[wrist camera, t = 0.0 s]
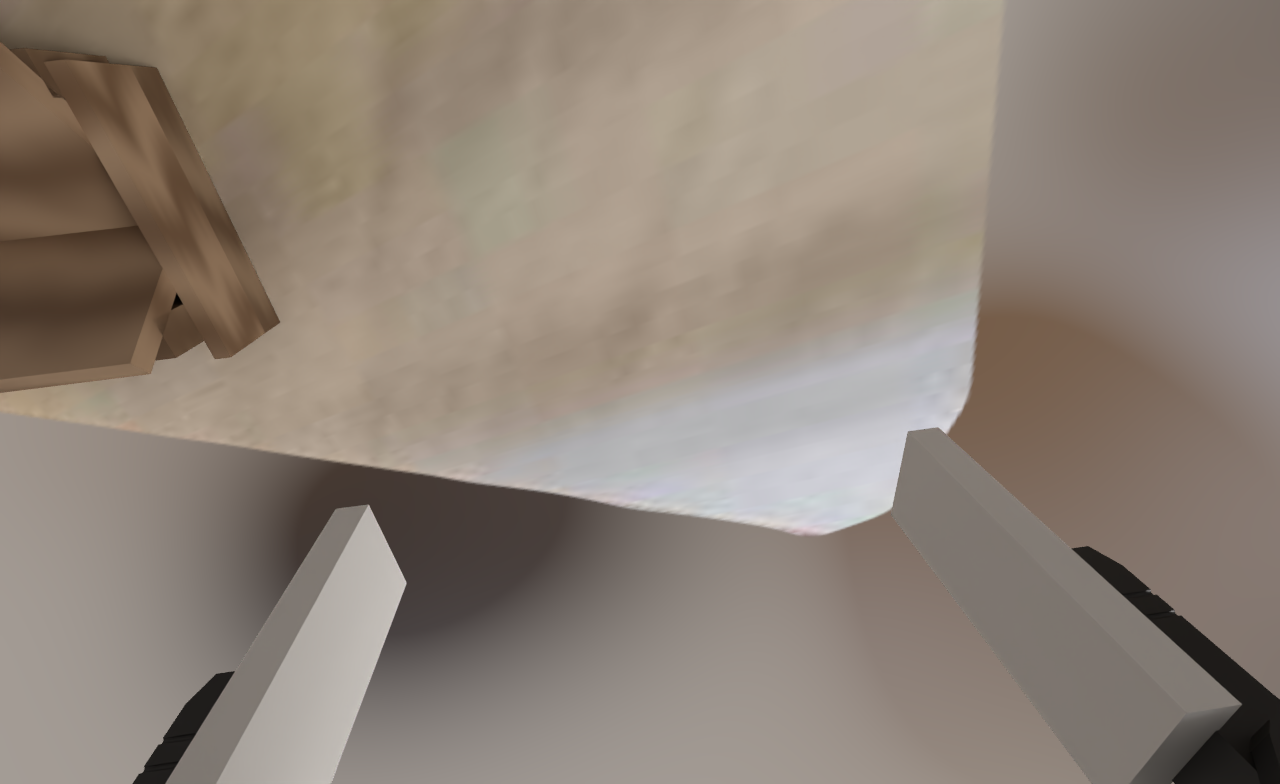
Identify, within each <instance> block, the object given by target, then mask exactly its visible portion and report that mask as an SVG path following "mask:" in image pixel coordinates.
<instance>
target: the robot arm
mask: <svg viewBox="0 0 1280 784" xmlns="http://www.w3.org/2000/svg"><path fill="white" fill-rule="evenodd" d="M891 515H892V517H893V518H894V520H895V521H896V522H897V523H898V525H899V526H900V527H901V529H902V530H903V531H904V533H905V534H906V535H907V537H908V538H909V540H910V541H911V542H912V544H913V545H914V546H915V548H916V549H917V550H918V552H919V553H920V554H921V556H922V557H923V558H924V560H925V561H926V562H927V564H928V565H929V566H930V568H931V569H932V570H933V572H934V573H935V574H936V576H937V577H938V578H939V580H940V581H941V582H942V584H943V585H944V587H945V588H946V589H947V591H948V592H949V593H950V594H951V596H952V597H953V599H954V600H955V601H956V602H957V604H958V605H959V607H960V608H961V609H962V610H963V612H964V613H965V615H966V616H967V617H968V619H969V620H970V621H971V623H972V624H973V625H974V627H975V628H976V629H977V631H978V632H979V633H980V635H981V636H982V637H983V639H984V640H985V641H986V643H987V644H988V645H989V647H990V648H991V649H992V651H993V652H994V653H995V655H996V656H997V658H998V659H999V660H1000V662H1001V663H1002V664H1003V665H1004V667H1005V668H1006V670H1007V671H1008V672H1009V674H1010V675H1011V676H1012V677H1013V679H1014V680H1015V682H1016V683H1017V684H1018V685H1019V687H1020V688H1021V690H1022V691H1023V692H1024V694H1026V696H1027V698H1028V699H1029V700H1030V702H1031V703H1032V704H1033V706H1034V707H1035V708H1036V710H1037V711H1038V712H1039V714H1040V715H1041V716H1042V718H1043V719H1044V720H1045V722H1046V723H1047V724H1048V726H1049V727H1050V728H1051V730H1052V731H1053V733H1054V734H1055V735H1056V737H1057V738H1058V739H1059V741H1060V742H1061V743H1062V745H1063V746H1064V747H1065V748H1066V750H1067V751H1068V753H1069V754H1070V755H1071V756H1072V758H1073V759H1074V761H1075V762H1076V763H1077V765H1078V766H1079V767H1080V769H1081V770H1082V771H1083V772H1084V774H1085V775H1086V777H1087V778H1088V779H1089V781H1090V782H1091V783H1092V784H1171V783H1172V782H1174V783H1175V784H1280V699H1278V698H1277V697H1276V696H1275V695H1273V694H1272V693H1271V692H1270V691H1269V690H1267V689H1266V688H1265V687H1264V686H1263V685H1262V684H1260V683H1259V682H1258V681H1257V680H1256V679H1255V678H1253V677H1252V676H1251V675H1250V674H1249V673H1248V672H1246V671H1245V670H1244V669H1243V668H1242V667H1240V666H1239V665H1238V664H1237V663H1236V662H1235V661H1233V660H1232V659H1231V658H1230V657H1229V656H1228V655H1227V654H1225V653H1224V652H1223V651H1222V650H1221V649H1220V648H1218V647H1217V646H1216V645H1215V644H1214V643H1213V642H1211V641H1210V640H1209V639H1208V638H1207V637H1206V636H1204V635H1203V634H1202V633H1201V632H1200V631H1198V630H1197V629H1196V628H1195V627H1194V626H1193V625H1191V624H1190V623H1189V622H1188V621H1186V619H1184V618H1183V617H1182V616H1178V615H1176V614H1175V610H1174V609H1173V608H1171V607H1170V606H1169V605H1168V604H1167V603H1166V602H1165V601H1163V600H1162V599H1161V598H1160V597H1159V596H1158V595H1153V594H1152V593H1151V589H1149V588H1148V587H1147V586H1146V585H1145V584H1143V583H1142V582H1141V581H1140V580H1139V579H1138V578H1137V577H1135V576H1134V575H1133V574H1132V573H1131V572H1130V571H1128V570H1127V569H1126V568H1125V567H1124V566H1122V565H1121V564H1119V563H1117V562H1115V561H1114V560H1112V559H1110V558H1108V557H1107V556H1104V555H1103V554H1101V553H1099V552H1098V551H1096V550H1094V549H1092V548H1090V547H1088V546H1086V547H1079V548H1072V549H1071V548H1070V547H1069V546H1068V545H1067V544H1066V543H1064V542H1063V541H1062V540H1061V539H1060V538H1059V537H1058V536H1057V535H1056V534H1055V533H1053V532H1052V531H1051V530H1050V529H1049V528H1048V527H1047V526H1046V525H1045V524H1044V523H1043V522H1041V521H1040V520H1039V519H1038V518H1037V517H1036V516H1035V515H1034V514H1033V513H1032V512H1030V511H1029V510H1028V509H1027V508H1026V507H1025V506H1024V505H1023V504H1022V503H1021V502H1020V501H1018V500H1017V499H1016V498H1015V497H1014V496H1013V495H1012V494H1011V493H1010V492H1008V491H1007V490H1006V489H1005V488H1004V487H1003V486H1002V485H1001V484H1000V483H999V482H998V481H996V480H995V479H994V478H993V477H992V476H991V475H990V474H989V473H988V472H987V471H986V470H984V469H983V468H982V467H981V466H980V465H979V464H978V463H976V462H975V460H973V459H972V458H971V457H970V456H969V455H968V454H967V453H966V452H965V451H964V450H962V449H961V448H960V447H959V446H958V445H957V444H956V443H955V442H954V441H952V439H950V438H949V437H948V436H947V435H946V434H945V433H944V432H943V431H942V430H941V429H939V428H930V429H923V430H915V431H908V434H907V438H906V443H905V448H904V453H903V458H902V463H901V468H900V473H899V478H898V482H897V487H896V492H895V497H894V502H893V507H892V512H891ZM405 586H406V581H405V579H404V577H403V575H402V573H401V570H400V568H399V566H398V564H397V562H396V560H395V558H394V556H393V554H392V552H391V550H390V548H389V546H388V544H387V542H386V539H385V537H384V535H383V533H382V531H381V529H380V527H379V525H378V523H377V521H376V519H375V517H374V515H373V513H372V511H371V509H370V506H369V505H362V506H355V507H347V508H340V509H336V510H335V511H334V513H333V515H332V516H331V518H330V519H329V521H328V523H327V524H326V526H325V527H324V529H323V531H322V532H321V534H320V535H319V537H318V539H317V540H316V542H315V544H314V545H313V547H312V548H311V550H310V552H309V553H308V555H307V556H306V558H305V560H304V561H303V563H302V565H301V566H300V568H299V569H298V571H297V573H296V574H295V576H294V577H293V579H292V581H291V582H290V584H289V585H288V587H287V589H286V590H285V592H284V593H283V595H282V597H281V598H280V600H279V601H278V603H277V605H276V606H275V608H274V609H273V611H272V613H271V614H270V616H269V618H268V619H267V621H266V622H265V624H264V626H263V627H262V629H261V630H260V632H259V634H258V635H257V637H256V639H255V640H254V642H253V643H252V645H251V647H250V648H249V650H248V651H247V653H246V655H245V656H244V658H243V659H242V661H241V663H240V664H239V666H238V667H237V669H236V671H233V672H226V673H220V674H216V675H215V676H214V677H213V678H212V679H211V680H210V681H209V682H208V683H207V684H206V685H205V686H204V687H203V688H202V689H201V690H200V691H199V692H197V693H196V694H195V695H194V696H193V697H192V698H191V699H190V700H189V701H188V702H187V703H186V705H185V706H184V708H183V709H182V710H181V712H180V713H179V715H178V716H177V718H176V719H175V721H174V722H173V724H172V725H171V727H170V729H169V730H168V732H167V733H166V735H165V736H164V737H163V739H164V741H163V743H162V744H160V745H158V746H157V748H156V749H155V751H154V752H153V754H152V755H151V757H150V758H149V760H148V761H147V763H146V764H145V766H144V767H145V770H144V772H143V773H141V774H139V775H138V776H137V778H136V779H135V781H134V782H133V784H331V782H332V780H333V777H334V774H335V772H336V769H337V766H338V763H339V761H340V758H341V756H342V753H343V750H344V748H345V745H346V742H347V740H348V737H349V734H350V731H351V729H352V726H353V724H354V721H355V718H356V716H357V713H358V710H359V708H360V705H361V702H362V700H363V697H364V695H365V692H366V689H367V686H368V684H369V681H370V679H371V676H372V673H373V671H374V668H375V665H376V663H377V660H378V657H379V655H380V651H381V649H382V647H383V644H384V641H385V639H386V636H387V634H388V631H389V628H390V626H391V623H392V620H393V617H394V615H395V612H396V610H397V607H398V604H399V602H400V599H401V596H402V594H403V591H404V588H405Z"/></svg>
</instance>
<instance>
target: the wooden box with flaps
mask: <svg viewBox="0 0 1280 784" xmlns="http://www.w3.org/2000/svg"><path fill="white" fill-rule="evenodd" d="M279 323H280V321H279V319H278V317H277V315H276V313H275V311H274V309H273V307H272V305H271V303H270V301H269V298H268V296H267V294H266V292H265V290H264V288H263V286H262V284H261V282H260V280H259V278H258V276H257V274H256V272H255V270H254V268H253V265H252V263H251V261H250V259H249V257H248V255H247V253H246V251H245V249H244V247H243V245H242V243H241V241H240V239H239V237H238V234H237V232H236V230H235V228H234V226H233V224H232V222H231V220H230V218H229V216H228V214H227V212H226V210H225V208H224V206H223V204H222V201H221V199H220V197H219V195H218V193H217V191H216V189H215V187H214V185H213V183H212V181H211V179H210V177H209V175H208V173H207V171H206V168H205V166H204V164H203V162H202V160H201V158H200V156H199V154H198V152H197V150H196V148H195V146H194V144H193V142H192V140H191V138H190V135H189V133H188V131H187V129H186V127H185V125H184V123H183V121H182V119H181V117H180V115H179V113H178V111H177V109H176V107H175V104H174V102H173V100H172V98H171V96H170V94H169V92H168V90H167V88H166V86H165V84H164V82H163V80H162V78H161V76H160V74H159V71H158V69H157V68H153V67H142V66H131V65H120V64H109V62H108V60H107V58H106V56H96V55H86V54H77V53H67V52H57V51H48V50H38V49H28V48H20V49H10V50H9V49H8V48H7V47H6V46H5V45H3V44H2V43H1V42H0V393H2V392H10V391H18V390H26V389H34V388H42V387H50V386H58V385H66V384H74V383H82V382H90V381H98V380H106V379H114V378H122V377H130V376H138V375H146V374H151V371H152V368H153V365H154V362H155V360H163V359H171V358H177V357H178V356H180V355H182V354H183V353H185V352H186V351H188V350H190V349H191V348H193V347H195V346H196V345H198V344H200V343H201V342H203V341H205V343H206V345H207V346H208V348H209V350H210V352H211V353H212V355H213V357H214V358H215V359H220V358H228V357H232V356H233V355H235V354H236V353H237V352H239V351H240V350H242V349H243V348H245V347H246V346H247V345H249V344H250V343H252V342H253V341H254V340H256V339H257V338H259V337H260V336H262V335H263V334H264V333H266V332H267V331H269V330H270V329H271V328H273V327H274V326H276V325H277V324H279Z"/></svg>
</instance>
